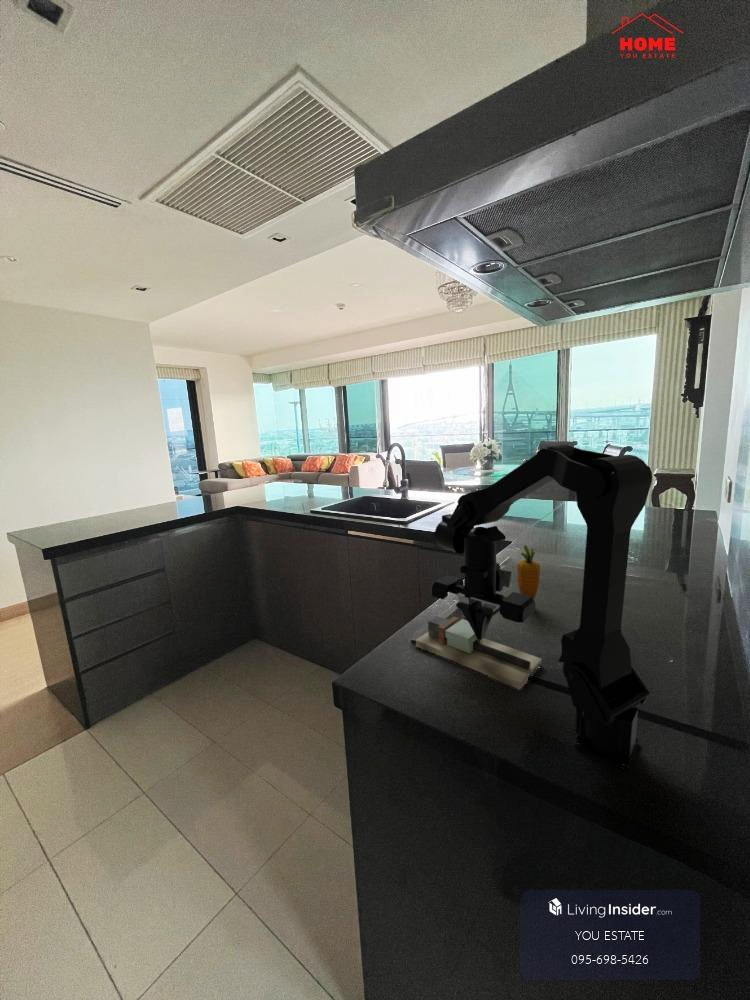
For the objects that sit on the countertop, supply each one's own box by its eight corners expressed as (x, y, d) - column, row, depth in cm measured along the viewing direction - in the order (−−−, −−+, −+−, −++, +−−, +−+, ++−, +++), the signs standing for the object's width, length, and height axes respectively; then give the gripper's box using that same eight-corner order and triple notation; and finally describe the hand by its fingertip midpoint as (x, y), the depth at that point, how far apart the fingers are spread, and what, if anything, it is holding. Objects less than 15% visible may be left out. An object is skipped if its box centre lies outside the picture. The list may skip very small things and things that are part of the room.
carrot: (540, 612, 96) (541, 550, 93) (517, 610, 97) (518, 549, 94) (537, 602, 101) (539, 543, 98) (516, 601, 102) (517, 543, 99)
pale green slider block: (484, 641, 81) (484, 626, 81) (468, 654, 77) (468, 639, 77) (462, 633, 85) (462, 619, 84) (445, 645, 81) (445, 630, 80)
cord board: (541, 666, 76) (542, 640, 75) (520, 690, 69) (520, 663, 68) (441, 629, 91) (440, 607, 90) (416, 646, 84) (415, 623, 83)
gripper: (548, 557, 75) (546, 636, 78) (459, 541, 87) (460, 609, 90) (521, 576, 67) (520, 663, 70) (428, 555, 80) (430, 629, 83)
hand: (480, 638), depth 78 cm, fingers closed
